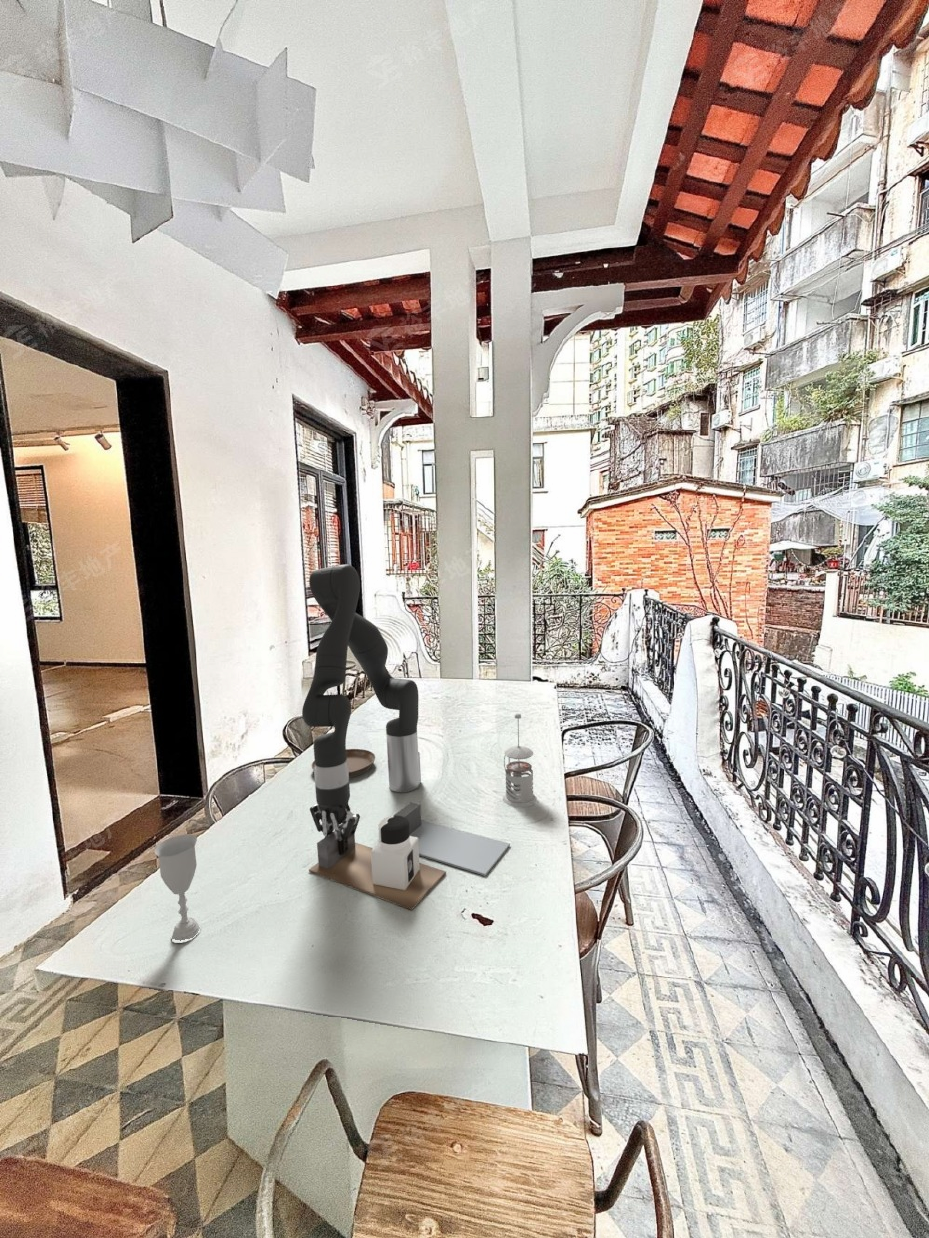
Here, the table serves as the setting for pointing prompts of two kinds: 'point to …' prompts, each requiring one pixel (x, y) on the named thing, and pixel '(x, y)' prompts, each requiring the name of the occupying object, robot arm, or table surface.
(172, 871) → the chalice
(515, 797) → the french press
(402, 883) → the container
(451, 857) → the grey board with block
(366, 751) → the plant saucer
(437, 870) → the brown board
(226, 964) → the table surface
